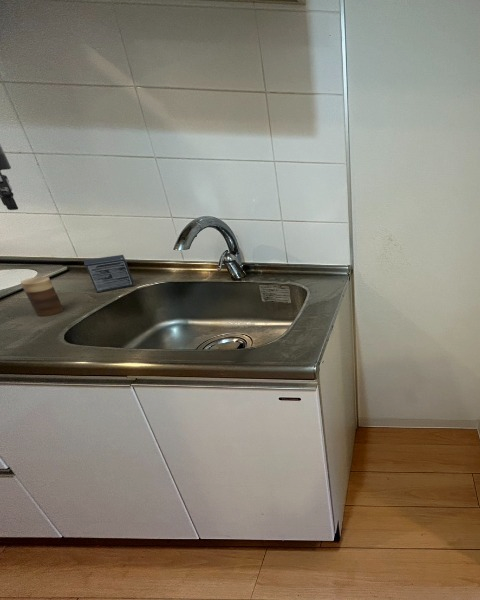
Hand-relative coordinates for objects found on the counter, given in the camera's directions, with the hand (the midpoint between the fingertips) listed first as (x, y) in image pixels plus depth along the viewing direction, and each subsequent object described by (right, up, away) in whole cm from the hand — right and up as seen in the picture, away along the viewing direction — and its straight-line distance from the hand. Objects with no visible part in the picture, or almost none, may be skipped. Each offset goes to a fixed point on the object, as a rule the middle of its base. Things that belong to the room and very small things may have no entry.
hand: (11, 207), depth 99 cm
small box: (+23, -25, +12) cm, 36 cm away
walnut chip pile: (+19, -33, -6) cm, 39 cm away
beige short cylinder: (+20, -26, -9) cm, 34 cm away
